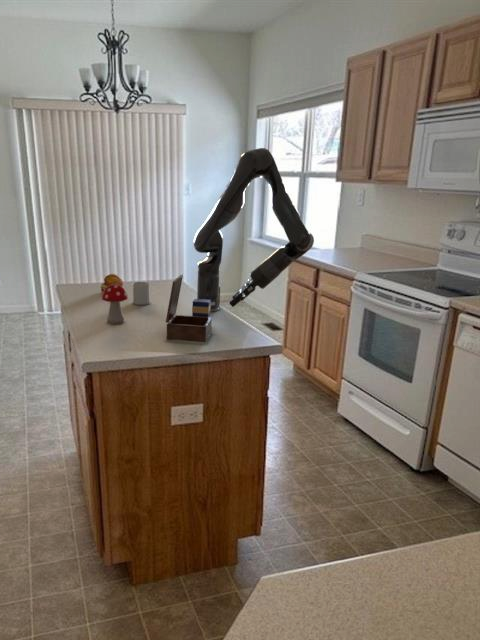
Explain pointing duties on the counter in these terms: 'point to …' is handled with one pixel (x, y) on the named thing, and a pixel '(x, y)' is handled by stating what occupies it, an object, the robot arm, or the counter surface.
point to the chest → (189, 328)
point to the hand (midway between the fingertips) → (232, 302)
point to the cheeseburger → (111, 281)
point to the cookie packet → (201, 308)
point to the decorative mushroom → (114, 302)
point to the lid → (174, 298)
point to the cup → (141, 293)
